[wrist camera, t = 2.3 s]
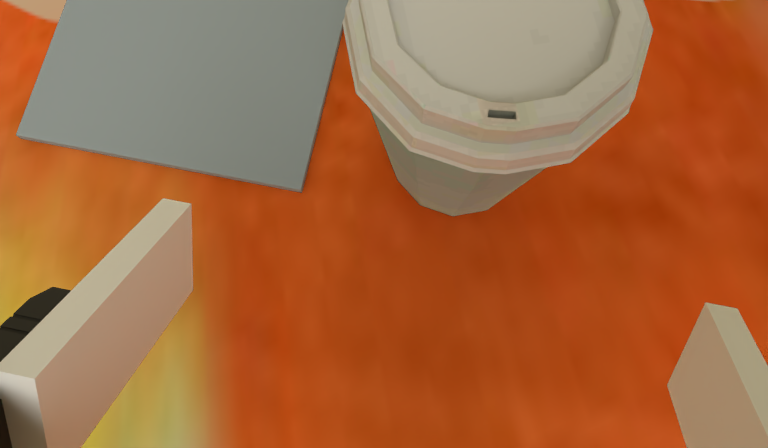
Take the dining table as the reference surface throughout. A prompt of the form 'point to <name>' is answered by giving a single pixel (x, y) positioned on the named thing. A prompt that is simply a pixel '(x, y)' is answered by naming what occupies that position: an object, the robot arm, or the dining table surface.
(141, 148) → the mat
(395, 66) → the disposable coffee cup
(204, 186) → the dining table surface
